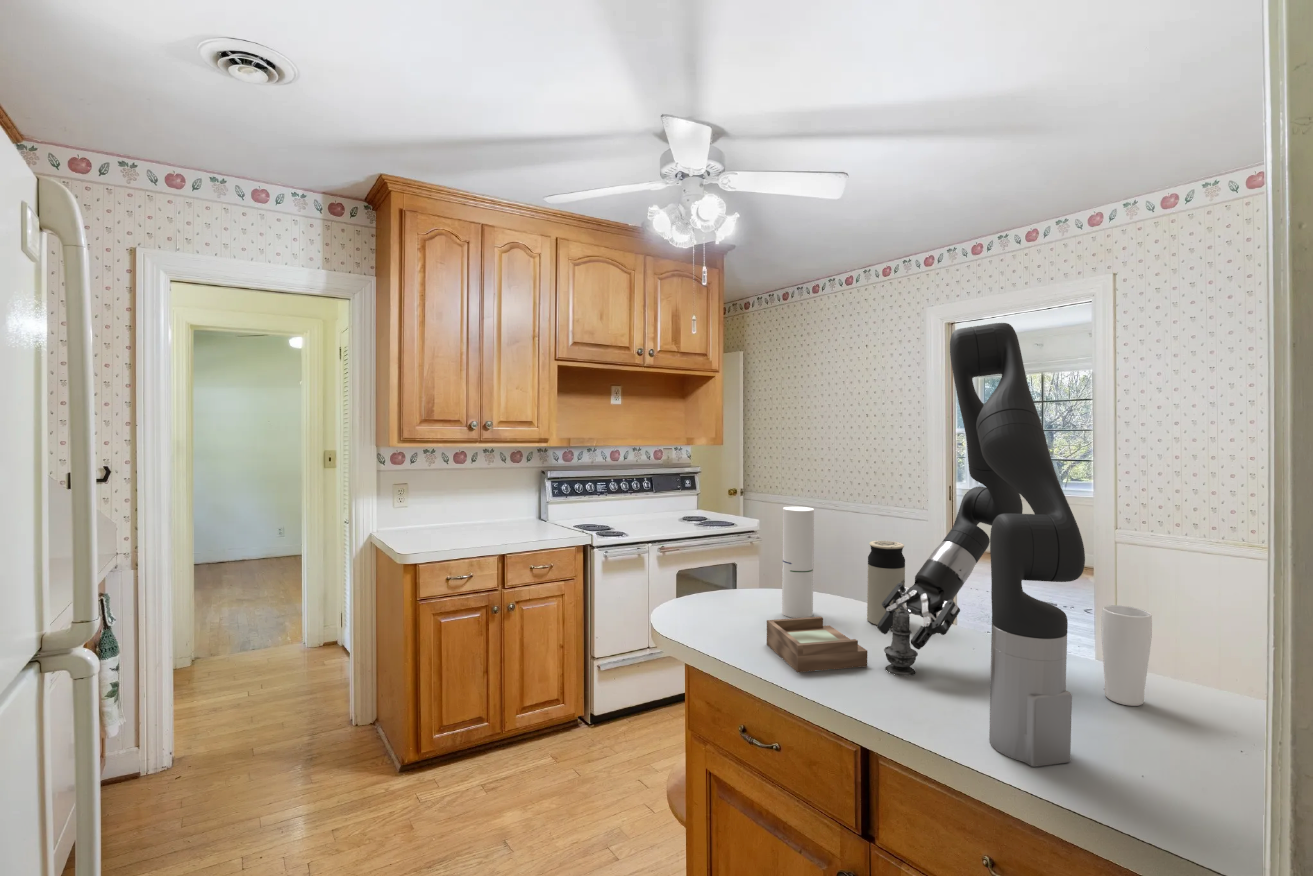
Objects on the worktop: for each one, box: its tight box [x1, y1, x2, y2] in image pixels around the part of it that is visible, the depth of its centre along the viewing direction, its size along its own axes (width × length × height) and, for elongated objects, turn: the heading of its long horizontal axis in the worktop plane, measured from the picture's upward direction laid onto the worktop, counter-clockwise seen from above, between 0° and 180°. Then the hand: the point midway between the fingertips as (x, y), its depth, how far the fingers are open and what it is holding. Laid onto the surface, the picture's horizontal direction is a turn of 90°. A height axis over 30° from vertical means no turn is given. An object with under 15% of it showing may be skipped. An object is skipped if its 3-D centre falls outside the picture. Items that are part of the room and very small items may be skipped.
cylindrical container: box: [781, 506, 815, 618], centre depth 154 cm, size 7×7×25 cm
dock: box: [766, 616, 868, 673], centre depth 128 cm, size 15×14×5 cm
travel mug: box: [866, 540, 906, 628], centre depth 148 cm, size 8×8×18 cm
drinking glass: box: [1100, 604, 1153, 707], centre depth 107 cm, size 7×7×15 cm
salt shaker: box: [883, 606, 919, 677], centre depth 120 cm, size 6×6×12 cm
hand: (897, 638), depth 120 cm, fingers open, 8 cm apart
